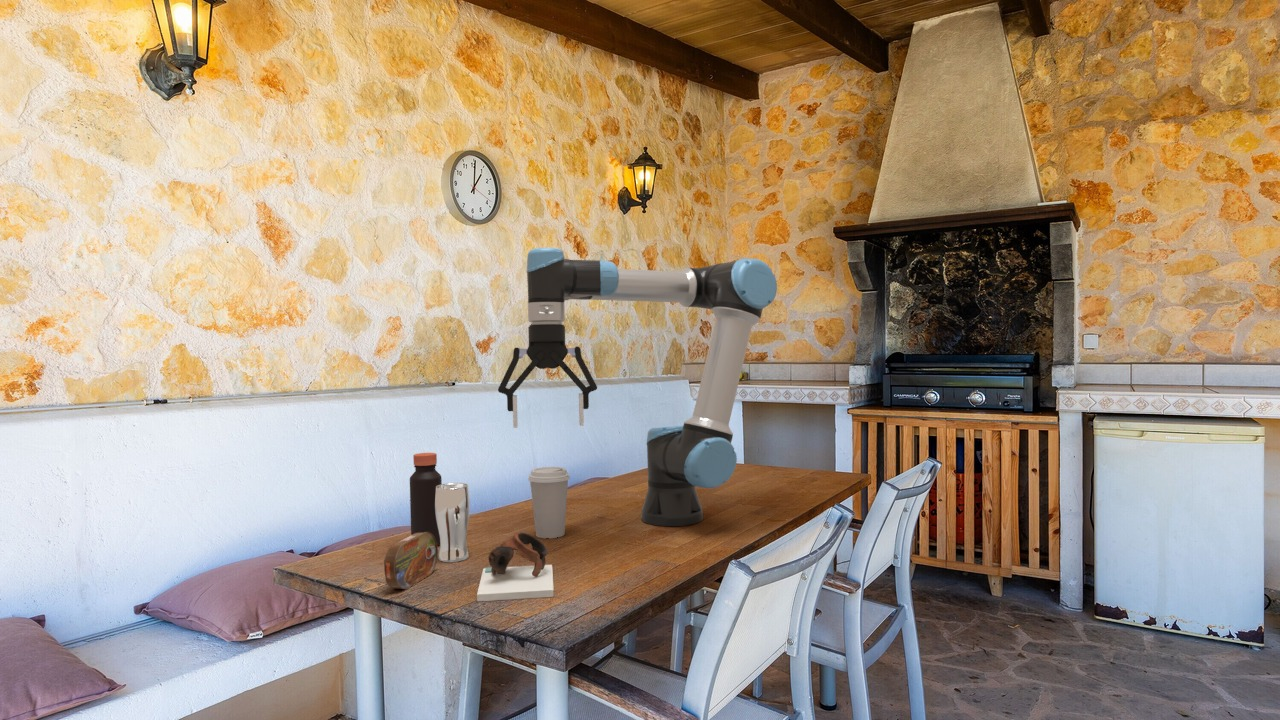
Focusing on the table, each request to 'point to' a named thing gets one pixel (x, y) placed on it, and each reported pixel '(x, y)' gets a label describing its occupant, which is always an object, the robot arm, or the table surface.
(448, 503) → the beer glass
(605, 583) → the table surface
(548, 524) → the coffee cup
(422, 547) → the tin
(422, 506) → the bottle
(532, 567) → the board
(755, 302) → the robot arm
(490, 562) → the broken pottery vessel
